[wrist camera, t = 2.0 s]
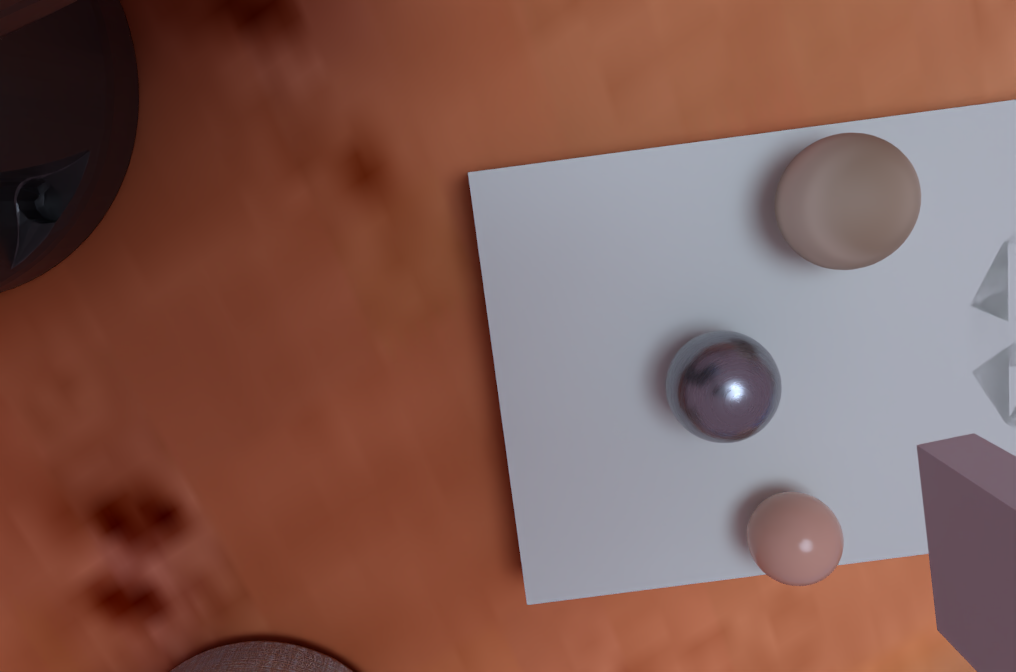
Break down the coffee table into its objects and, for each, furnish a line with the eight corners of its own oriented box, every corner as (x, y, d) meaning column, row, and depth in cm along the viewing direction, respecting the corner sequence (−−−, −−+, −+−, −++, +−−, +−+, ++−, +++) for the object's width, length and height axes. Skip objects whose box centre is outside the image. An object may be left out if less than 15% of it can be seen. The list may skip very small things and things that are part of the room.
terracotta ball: (738, 564, 29) (766, 609, 26) (731, 483, 28) (760, 520, 25) (824, 553, 29) (862, 597, 26) (819, 472, 28) (857, 507, 25)
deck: (524, 571, 31) (527, 604, 29) (469, 172, 28) (467, 172, 26) (1207, 483, 31) (1268, 510, 29) (1223, 72, 28) (1293, 62, 26)
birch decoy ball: (761, 269, 27) (807, 286, 23) (752, 144, 26) (798, 139, 22) (884, 254, 27) (951, 268, 23) (879, 127, 26) (948, 119, 22)
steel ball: (660, 429, 28) (684, 466, 24) (650, 328, 27) (673, 351, 24) (763, 416, 28) (802, 451, 24) (757, 314, 27) (795, 336, 24)
